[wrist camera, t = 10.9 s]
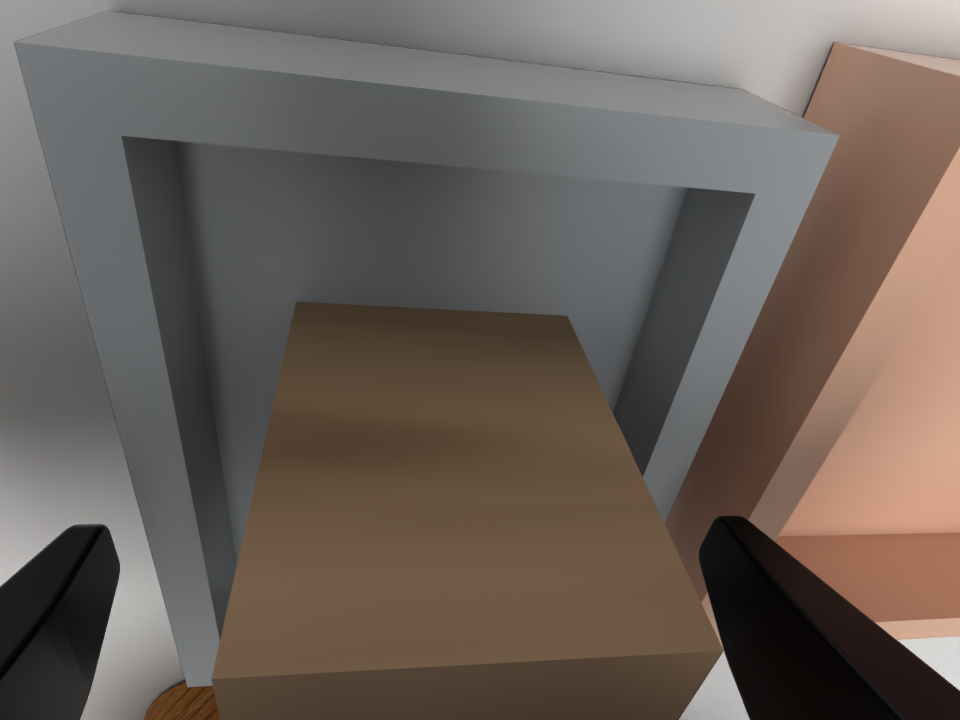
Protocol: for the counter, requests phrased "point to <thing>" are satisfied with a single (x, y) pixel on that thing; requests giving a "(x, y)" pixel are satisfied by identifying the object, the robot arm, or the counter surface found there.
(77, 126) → the tray
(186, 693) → the disposable coffee cup
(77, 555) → the robot arm
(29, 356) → the counter surface
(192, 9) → the counter surface
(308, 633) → the block
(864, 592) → the dish
